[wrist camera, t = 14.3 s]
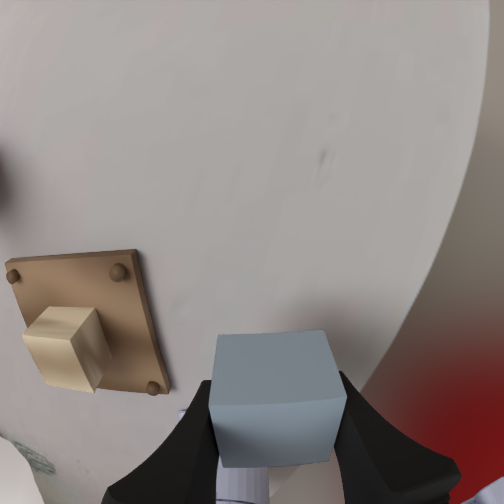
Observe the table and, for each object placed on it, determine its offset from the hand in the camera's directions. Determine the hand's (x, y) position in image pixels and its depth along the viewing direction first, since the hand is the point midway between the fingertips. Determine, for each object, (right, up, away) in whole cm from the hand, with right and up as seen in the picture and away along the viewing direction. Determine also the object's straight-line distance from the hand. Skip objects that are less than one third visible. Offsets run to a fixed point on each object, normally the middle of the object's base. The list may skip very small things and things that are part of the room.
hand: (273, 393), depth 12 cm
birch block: (-14, 0, +8) cm, 16 cm away
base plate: (-14, 0, +9) cm, 16 cm away
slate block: (0, +1, +1) cm, 1 cm away
